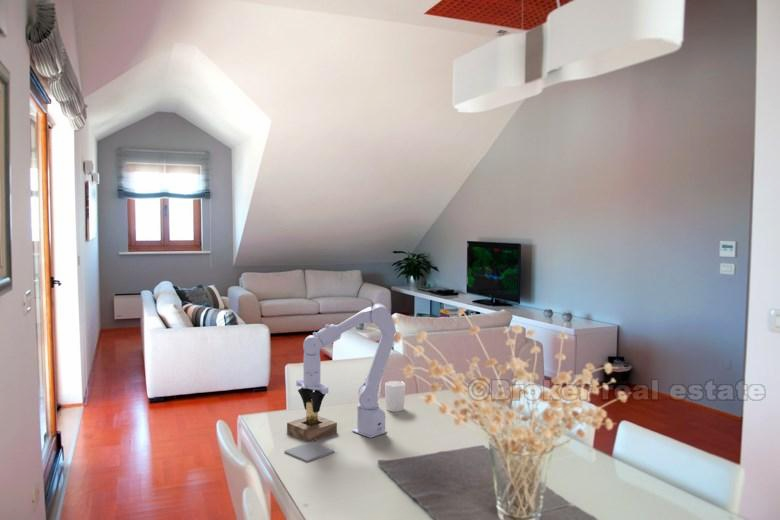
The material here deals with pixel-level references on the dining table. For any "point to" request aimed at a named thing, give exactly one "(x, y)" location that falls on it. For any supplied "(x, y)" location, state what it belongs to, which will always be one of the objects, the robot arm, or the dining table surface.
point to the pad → (309, 451)
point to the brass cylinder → (311, 414)
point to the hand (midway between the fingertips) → (312, 410)
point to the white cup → (394, 395)
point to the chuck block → (311, 428)
